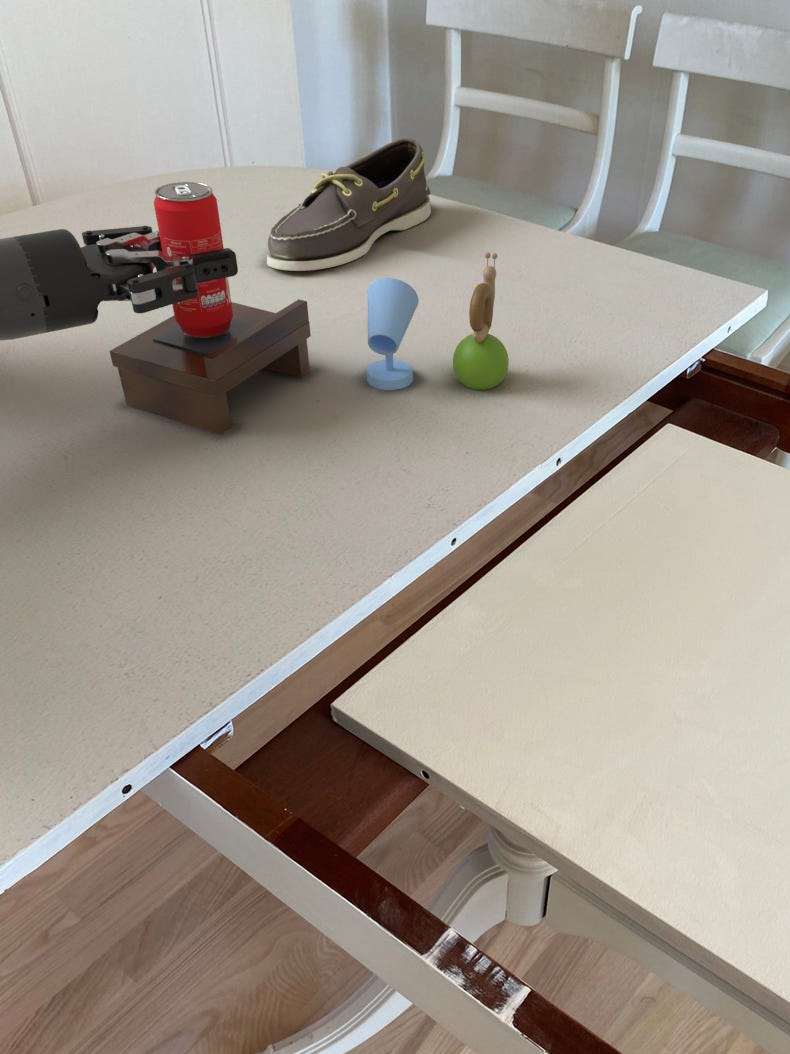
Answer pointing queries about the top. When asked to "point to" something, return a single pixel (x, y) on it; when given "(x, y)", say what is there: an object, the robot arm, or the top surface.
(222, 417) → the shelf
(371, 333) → the spotlight
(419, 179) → the boat shoe
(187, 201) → the beverage can
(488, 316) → the snail figurine
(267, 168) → the top surface
